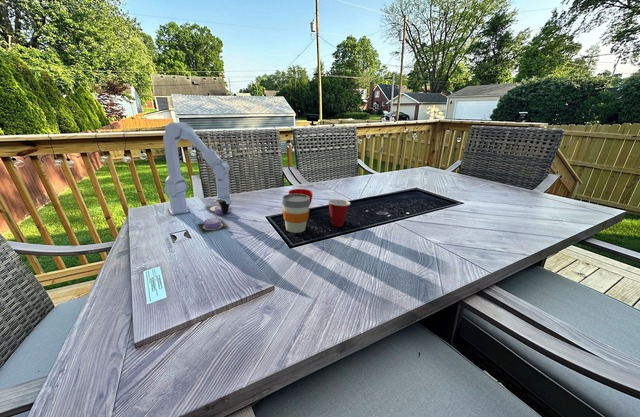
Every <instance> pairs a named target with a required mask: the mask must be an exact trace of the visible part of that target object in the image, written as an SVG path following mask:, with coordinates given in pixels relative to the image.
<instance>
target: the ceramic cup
mask: <svg viewBox="0 0 640 417" xmlns="http://www.w3.org/2000/svg"><path fill="white" fill-rule="evenodd" d="M288 194H304V195H307V196H309V197H310V205H309V207H310V206H311V204H312V201H313V191H312V190H309V189H306V188H305V189H304V188H295V189H290V190H288Z"/></svg>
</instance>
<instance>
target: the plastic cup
mask: <svg viewBox="0 0 640 417" xmlns="http://www.w3.org/2000/svg"><path fill="white" fill-rule="evenodd" d="M327 204H328V208H329V218H330V224H331V226H332V227H334V228H341V227H343V226H344V225H345V224H344V223H345V220H346V218H347V213H348V210H349V207H350V206H351V202H350V201H348V200H346V199H345V200H344V199H338V198H336V199H335V198H333V199H328V200H327Z"/></svg>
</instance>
